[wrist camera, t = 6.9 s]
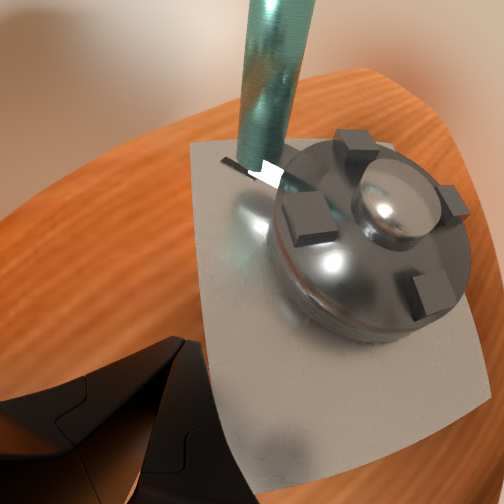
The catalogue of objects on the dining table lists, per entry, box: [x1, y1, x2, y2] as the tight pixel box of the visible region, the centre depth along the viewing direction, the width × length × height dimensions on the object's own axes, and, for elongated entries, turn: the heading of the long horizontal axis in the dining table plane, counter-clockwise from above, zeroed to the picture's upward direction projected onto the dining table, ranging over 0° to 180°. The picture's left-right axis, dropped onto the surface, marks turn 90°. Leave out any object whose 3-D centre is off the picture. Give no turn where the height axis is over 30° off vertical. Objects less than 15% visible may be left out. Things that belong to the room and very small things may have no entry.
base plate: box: [190, 138, 492, 494], centre depth 17 cm, size 22×17×2 cm
